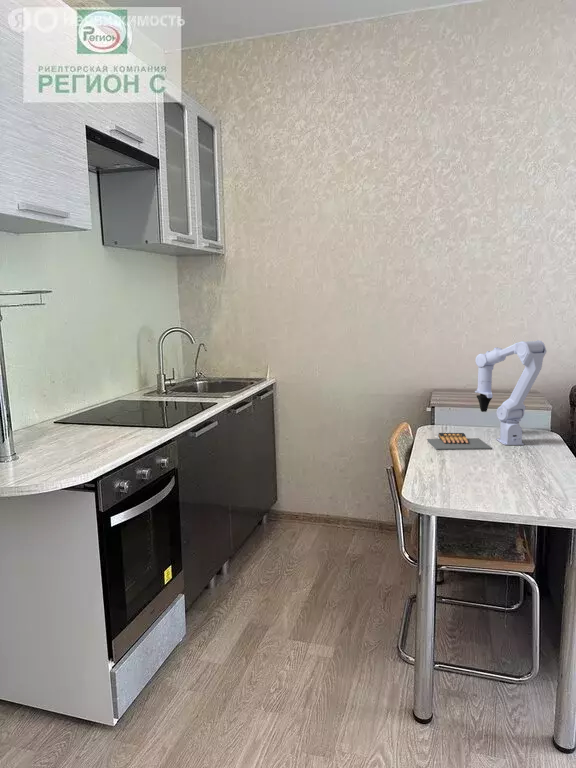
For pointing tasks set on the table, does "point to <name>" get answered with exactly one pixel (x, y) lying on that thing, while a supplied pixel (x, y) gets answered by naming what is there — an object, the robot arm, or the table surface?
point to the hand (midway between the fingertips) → (483, 411)
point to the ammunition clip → (453, 437)
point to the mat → (459, 444)
